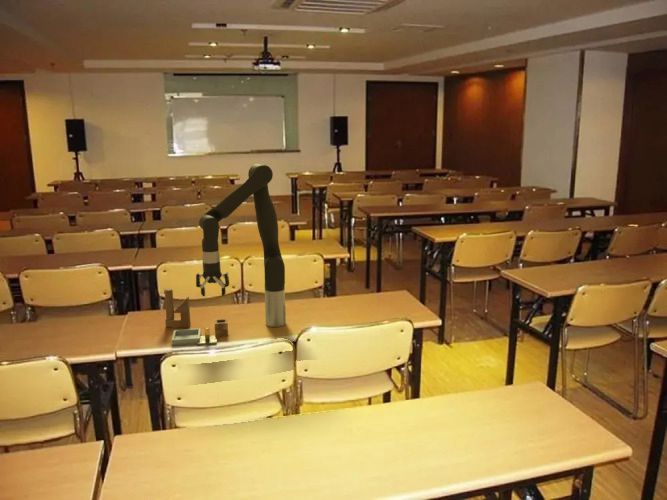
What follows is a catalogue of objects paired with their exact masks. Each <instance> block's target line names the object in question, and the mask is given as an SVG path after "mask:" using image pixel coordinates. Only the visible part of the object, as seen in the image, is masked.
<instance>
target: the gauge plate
mask: <svg viewBox="0 0 667 500" xmlns="http://www.w3.org/2000/svg"><path fill="white" fill-rule="evenodd" d="M217 344H218V336H217V335H215V334H214V335H211V334H210V328H209V327H204V335H201V336H200V341H198V344H197V346H198V347H199V346H200V347H201V346H210V345H211V346H213V345H217Z"/></svg>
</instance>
